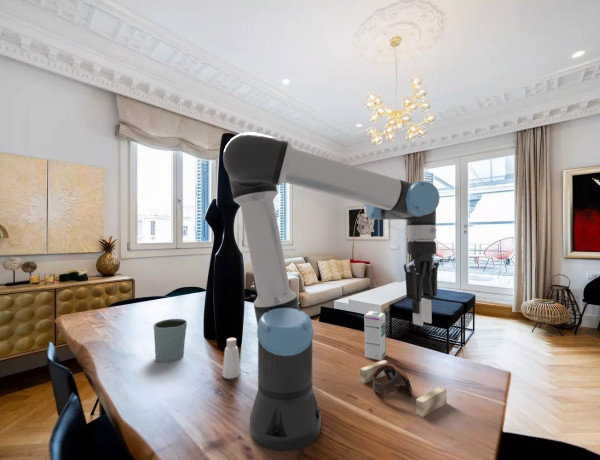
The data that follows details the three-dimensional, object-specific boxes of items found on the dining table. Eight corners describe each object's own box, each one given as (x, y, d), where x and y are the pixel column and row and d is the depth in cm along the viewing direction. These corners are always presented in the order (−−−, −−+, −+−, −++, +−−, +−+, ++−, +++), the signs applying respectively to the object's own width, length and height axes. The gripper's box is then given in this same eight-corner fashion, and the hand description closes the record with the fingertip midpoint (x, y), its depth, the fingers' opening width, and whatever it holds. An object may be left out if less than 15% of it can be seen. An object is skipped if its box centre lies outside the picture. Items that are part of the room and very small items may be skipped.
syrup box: (381, 361, 91) (381, 316, 92) (364, 357, 95) (363, 314, 95) (386, 354, 96) (386, 312, 96) (369, 351, 99) (369, 310, 100)
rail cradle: (422, 420, 62) (422, 402, 62) (360, 382, 78) (360, 368, 78) (446, 405, 68) (446, 388, 68) (384, 373, 84) (383, 359, 84)
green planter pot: (148, 358, 93) (149, 323, 94) (178, 349, 101) (179, 316, 101) (160, 368, 87) (160, 330, 87) (192, 358, 94) (192, 322, 94)
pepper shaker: (220, 374, 83) (220, 337, 83) (238, 370, 85) (238, 334, 85) (223, 383, 78) (223, 343, 78) (242, 379, 80) (242, 340, 80)
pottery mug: (420, 407, 67) (405, 379, 66) (384, 419, 69) (369, 392, 68) (409, 372, 79) (396, 348, 78) (378, 383, 81) (365, 360, 80)
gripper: (415, 241, 71) (416, 332, 71) (450, 240, 80) (451, 321, 80) (391, 240, 78) (392, 324, 77) (426, 239, 87) (426, 315, 86)
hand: (422, 323), depth 79 cm, fingers open, 3 cm apart
